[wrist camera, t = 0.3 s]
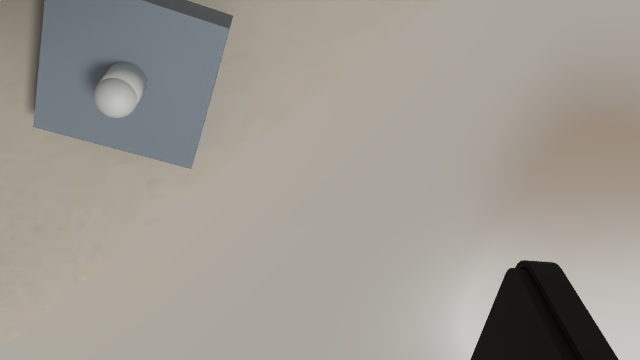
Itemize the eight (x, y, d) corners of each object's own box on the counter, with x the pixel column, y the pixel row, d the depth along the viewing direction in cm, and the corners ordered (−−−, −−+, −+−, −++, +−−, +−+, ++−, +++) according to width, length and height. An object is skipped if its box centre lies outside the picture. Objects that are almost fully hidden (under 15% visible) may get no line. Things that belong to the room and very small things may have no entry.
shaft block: (63, -41, 38) (19, -14, 32) (232, 16, 41) (222, 50, 34) (47, 109, 44) (8, 156, 38) (196, 150, 47) (182, 200, 40)
